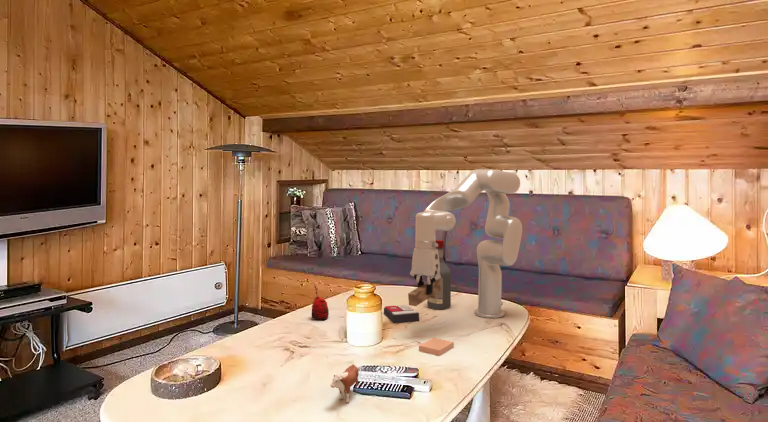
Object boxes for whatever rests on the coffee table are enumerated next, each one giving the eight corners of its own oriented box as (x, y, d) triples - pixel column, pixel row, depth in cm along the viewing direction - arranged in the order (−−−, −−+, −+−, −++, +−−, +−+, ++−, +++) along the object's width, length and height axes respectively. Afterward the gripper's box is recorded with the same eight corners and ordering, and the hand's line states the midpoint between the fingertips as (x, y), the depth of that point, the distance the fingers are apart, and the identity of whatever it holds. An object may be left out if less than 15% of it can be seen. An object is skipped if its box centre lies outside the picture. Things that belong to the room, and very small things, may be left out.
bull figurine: (327, 406, 134) (327, 376, 134) (349, 386, 147) (349, 358, 146) (343, 409, 133) (342, 379, 132) (363, 388, 145) (363, 360, 145)
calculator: (407, 303, 223) (419, 311, 208) (408, 313, 223) (419, 321, 209) (383, 305, 220) (393, 313, 205) (383, 315, 220) (393, 324, 206)
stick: (433, 289, 202) (433, 278, 201) (440, 290, 200) (439, 279, 200) (408, 305, 188) (408, 293, 187) (415, 306, 186) (415, 294, 185)
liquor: (437, 303, 236) (438, 238, 233) (453, 307, 229) (454, 240, 227) (424, 306, 230) (424, 240, 227) (439, 311, 223) (440, 242, 220)
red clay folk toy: (331, 319, 211) (331, 283, 210) (316, 322, 207) (315, 285, 206) (323, 315, 217) (322, 280, 216) (308, 317, 213) (307, 282, 212)
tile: (433, 337, 183) (418, 345, 175) (453, 342, 178) (439, 350, 170) (433, 343, 183) (418, 352, 175) (453, 348, 179) (439, 357, 171)
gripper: (449, 246, 191) (449, 294, 192) (412, 242, 200) (412, 288, 202) (439, 248, 185) (438, 298, 186) (401, 244, 194) (401, 292, 196)
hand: (425, 293), depth 194 cm, fingers closed on stick, 3 cm apart
